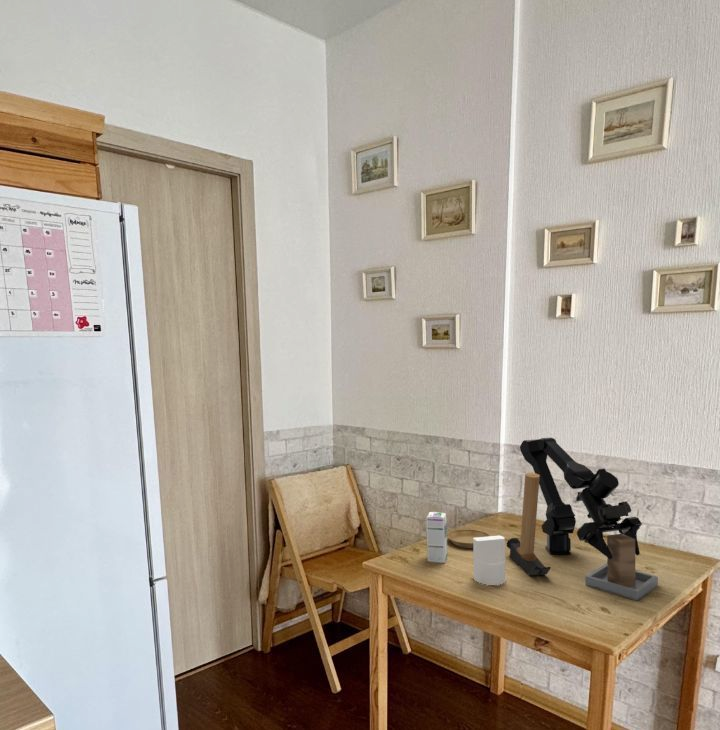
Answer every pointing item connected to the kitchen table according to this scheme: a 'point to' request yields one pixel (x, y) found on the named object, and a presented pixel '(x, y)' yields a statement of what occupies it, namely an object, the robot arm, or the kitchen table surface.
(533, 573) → the hammer
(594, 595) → the kitchen table surface
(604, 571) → the tray
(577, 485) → the robot arm
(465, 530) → the plant saucer
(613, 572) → the walnut block
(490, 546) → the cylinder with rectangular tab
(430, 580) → the kitchen table surface
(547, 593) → the kitchen table surface
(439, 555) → the syrup box
